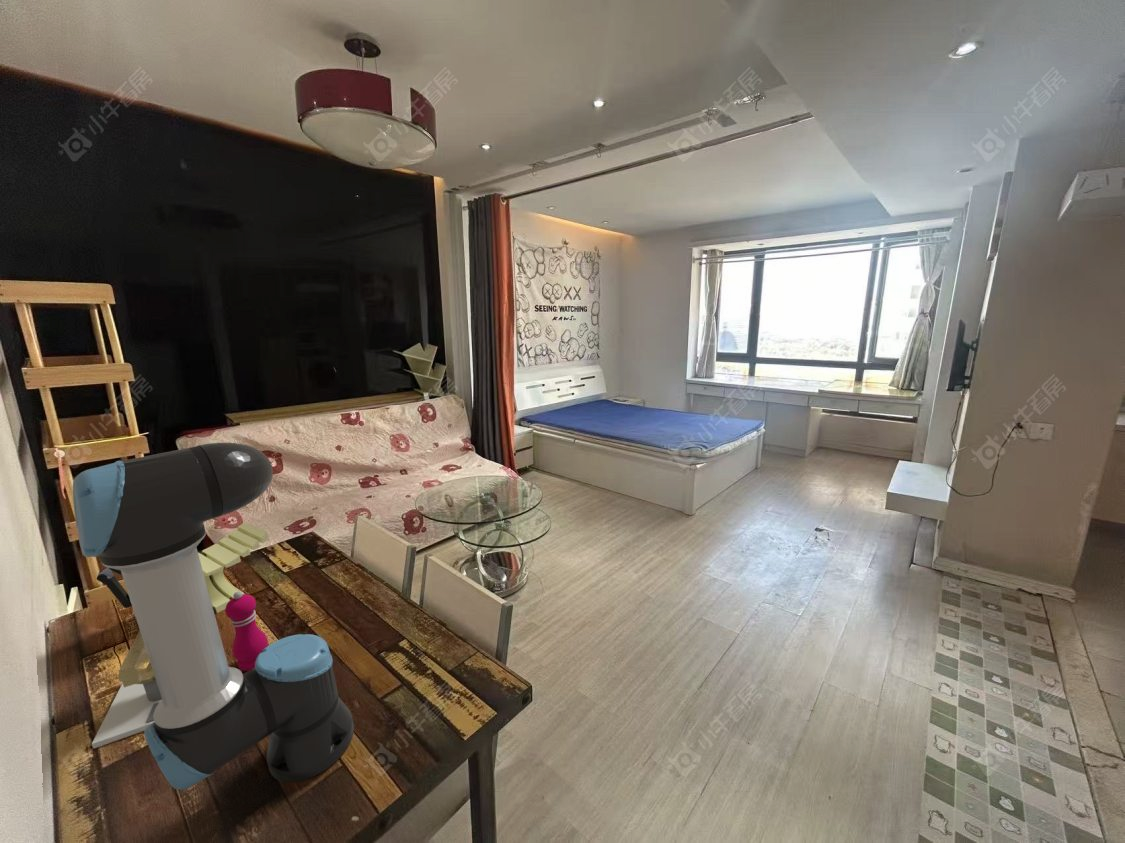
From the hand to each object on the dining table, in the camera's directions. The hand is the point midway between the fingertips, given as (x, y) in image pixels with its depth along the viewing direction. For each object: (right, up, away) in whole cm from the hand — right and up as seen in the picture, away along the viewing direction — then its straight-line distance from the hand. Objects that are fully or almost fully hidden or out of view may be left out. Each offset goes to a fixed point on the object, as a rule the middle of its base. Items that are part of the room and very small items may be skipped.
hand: (154, 625), depth 104 cm
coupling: (+6, -7, -6) cm, 11 cm away
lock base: (+6, -14, -4) cm, 16 cm away
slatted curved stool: (-9, -6, +29) cm, 31 cm away
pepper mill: (+20, -12, +6) cm, 24 cm away
